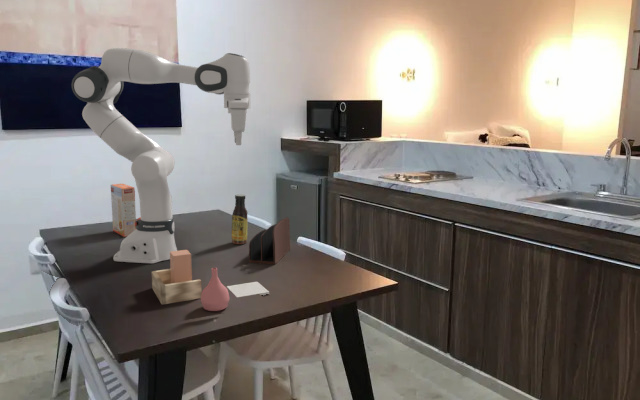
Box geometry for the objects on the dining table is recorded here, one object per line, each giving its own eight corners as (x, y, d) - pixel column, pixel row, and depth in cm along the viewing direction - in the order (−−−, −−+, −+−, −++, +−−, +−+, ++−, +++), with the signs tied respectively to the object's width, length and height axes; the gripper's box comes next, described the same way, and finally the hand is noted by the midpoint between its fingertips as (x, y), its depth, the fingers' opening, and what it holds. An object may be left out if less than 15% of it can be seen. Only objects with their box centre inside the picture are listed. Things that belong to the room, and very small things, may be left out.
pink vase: (204, 318, 134) (203, 274, 131) (198, 307, 140) (196, 266, 138) (233, 313, 137) (232, 270, 135) (225, 303, 144) (224, 262, 141)
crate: (161, 307, 140) (160, 286, 139) (152, 290, 153) (151, 271, 152) (201, 300, 146) (201, 280, 145) (189, 284, 158) (188, 266, 157)
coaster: (237, 299, 146) (237, 297, 146) (226, 288, 155) (226, 286, 155) (269, 294, 151) (269, 291, 151) (257, 283, 160) (257, 281, 160)
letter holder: (290, 250, 198) (290, 214, 196) (275, 265, 179) (275, 226, 177) (265, 248, 200) (265, 213, 198) (248, 263, 181) (247, 224, 179)
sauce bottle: (228, 244, 205) (227, 195, 201) (236, 240, 211) (236, 193, 207) (242, 245, 203) (242, 196, 199) (250, 242, 208) (250, 194, 205)
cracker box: (137, 235, 216) (135, 187, 212) (123, 237, 212) (120, 188, 209) (126, 229, 227) (123, 182, 223) (112, 231, 223) (109, 184, 219)
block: (175, 296, 147) (173, 256, 144) (171, 290, 151) (169, 251, 149) (192, 293, 149) (191, 253, 147) (188, 287, 153) (186, 249, 151)
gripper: (227, 103, 182) (227, 141, 184) (228, 102, 162) (229, 146, 164) (244, 103, 183) (245, 141, 185) (248, 103, 163) (249, 146, 166)
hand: (237, 144), depth 175 cm, fingers open, 8 cm apart
